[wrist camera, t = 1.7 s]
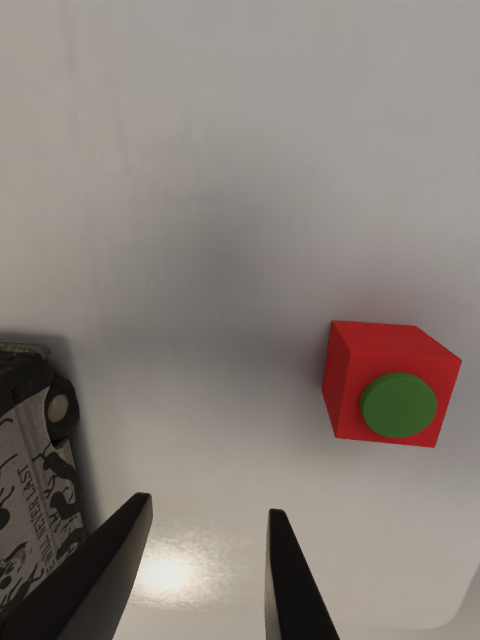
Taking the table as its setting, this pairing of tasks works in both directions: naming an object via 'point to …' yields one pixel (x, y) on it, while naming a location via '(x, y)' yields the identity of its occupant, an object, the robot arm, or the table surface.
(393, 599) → the table surface
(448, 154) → the table surface
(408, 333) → the red cube
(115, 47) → the table surface
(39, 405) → the toy car
